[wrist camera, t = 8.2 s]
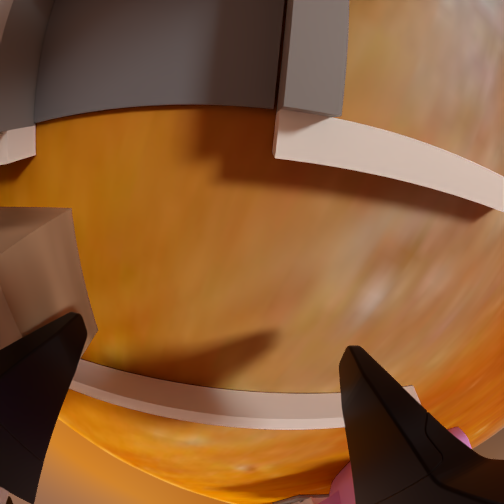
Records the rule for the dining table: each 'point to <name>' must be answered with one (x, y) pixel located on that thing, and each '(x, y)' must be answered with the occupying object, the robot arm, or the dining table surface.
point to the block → (39, 272)
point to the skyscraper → (303, 499)
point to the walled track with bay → (210, 93)
